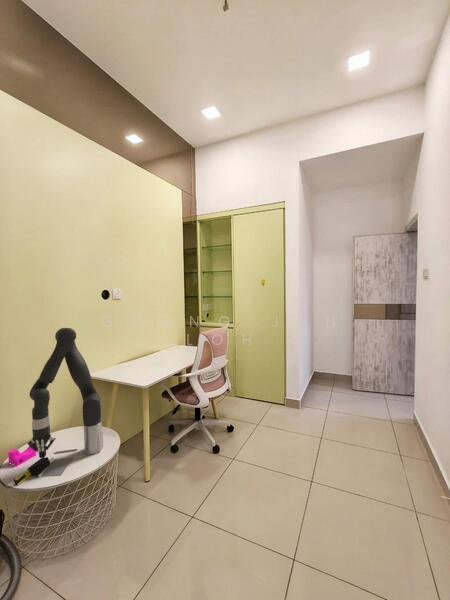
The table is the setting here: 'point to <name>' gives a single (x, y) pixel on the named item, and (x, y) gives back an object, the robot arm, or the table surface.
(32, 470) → the tape measure
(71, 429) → the table surface
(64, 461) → the mat
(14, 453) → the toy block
